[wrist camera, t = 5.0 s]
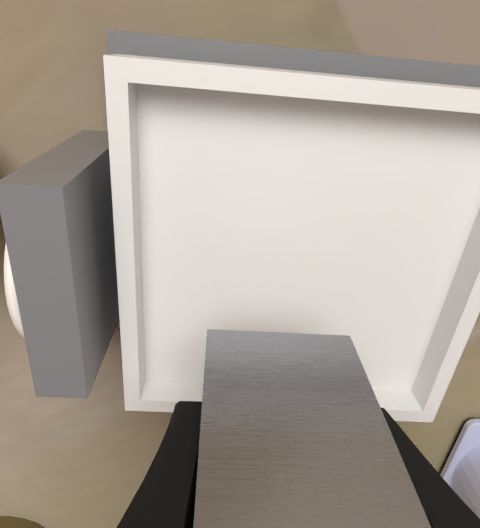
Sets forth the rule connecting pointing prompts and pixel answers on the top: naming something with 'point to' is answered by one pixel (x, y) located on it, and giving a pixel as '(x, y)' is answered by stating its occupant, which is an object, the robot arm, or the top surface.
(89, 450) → the top surface
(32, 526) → the cork
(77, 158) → the kitchen scale
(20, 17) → the top surface
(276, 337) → the steel block
